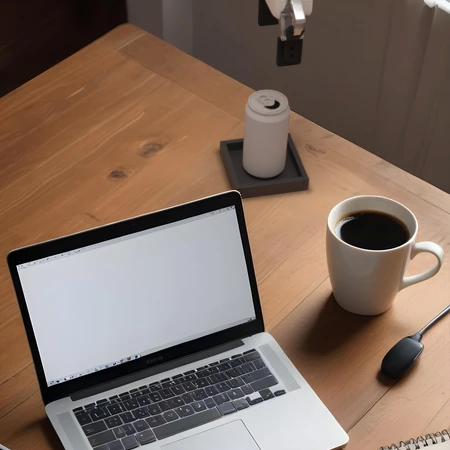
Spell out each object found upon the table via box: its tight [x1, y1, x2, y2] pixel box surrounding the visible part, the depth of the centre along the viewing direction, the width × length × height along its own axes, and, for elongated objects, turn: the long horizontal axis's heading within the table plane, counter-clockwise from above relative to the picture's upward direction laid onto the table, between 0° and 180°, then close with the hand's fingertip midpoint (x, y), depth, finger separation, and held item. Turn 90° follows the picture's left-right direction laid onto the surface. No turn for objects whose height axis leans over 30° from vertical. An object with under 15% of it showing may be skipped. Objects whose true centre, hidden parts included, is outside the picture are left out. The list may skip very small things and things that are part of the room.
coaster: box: [219, 132, 310, 199], centre depth 126 cm, size 11×11×2 cm
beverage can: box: [243, 89, 291, 178], centre depth 122 cm, size 6×6×12 cm
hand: (278, 43), depth 110 cm, fingers open, 9 cm apart
